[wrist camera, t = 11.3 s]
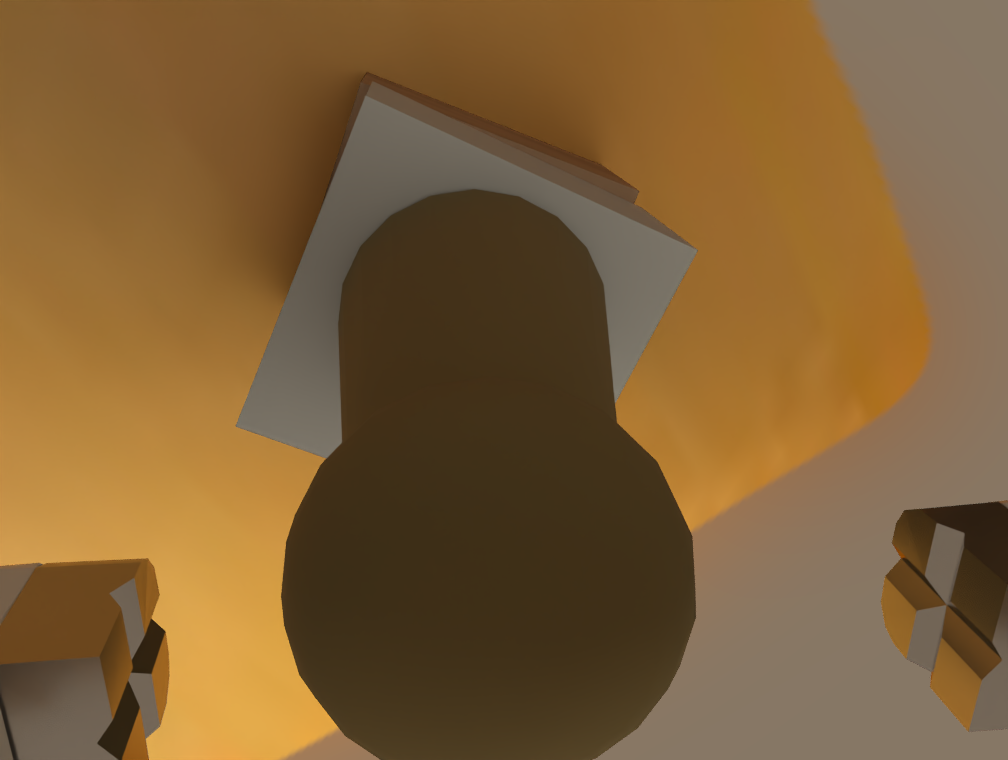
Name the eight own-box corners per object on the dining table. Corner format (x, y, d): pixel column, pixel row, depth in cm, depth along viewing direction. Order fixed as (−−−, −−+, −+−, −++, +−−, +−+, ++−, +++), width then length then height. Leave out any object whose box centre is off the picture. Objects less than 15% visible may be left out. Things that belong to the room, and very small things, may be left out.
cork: (286, 351, 20) (114, 733, 10) (442, 130, 18) (429, 317, 8) (500, 485, 21) (542, 926, 11) (662, 295, 20) (881, 622, 10)
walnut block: (512, 378, 31) (531, 438, 27) (293, 306, 29) (273, 358, 25) (601, 164, 29) (639, 191, 24) (367, 72, 27) (360, 81, 22)
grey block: (519, 446, 27) (543, 534, 22) (265, 351, 25) (235, 426, 20) (641, 207, 24) (697, 250, 20) (372, 80, 22) (365, 95, 18)
